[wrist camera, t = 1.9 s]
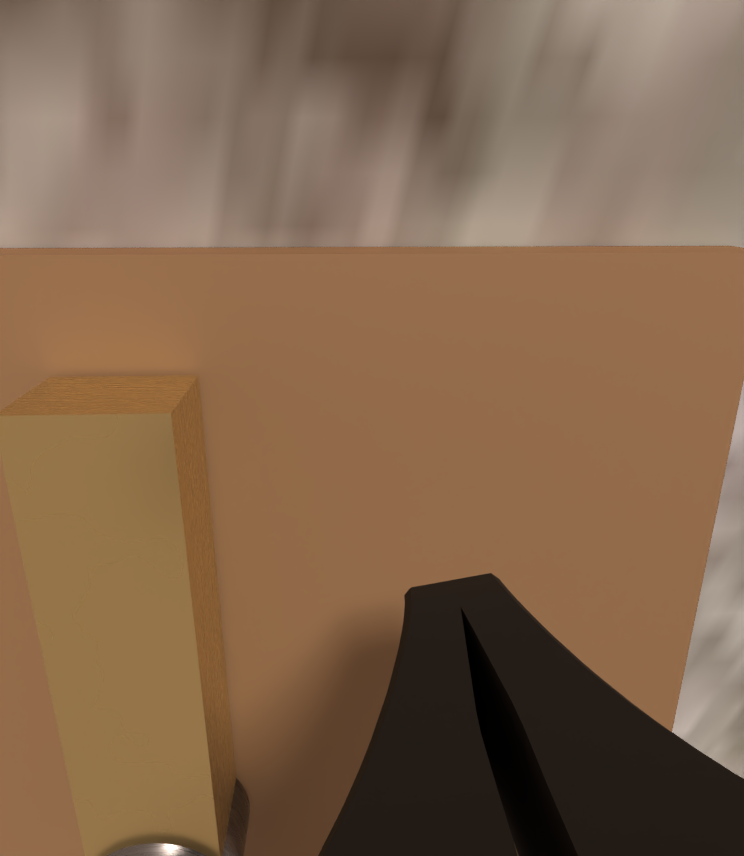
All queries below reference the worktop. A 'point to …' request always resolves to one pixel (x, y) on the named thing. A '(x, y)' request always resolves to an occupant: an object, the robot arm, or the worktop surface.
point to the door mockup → (391, 474)
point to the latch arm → (128, 608)
